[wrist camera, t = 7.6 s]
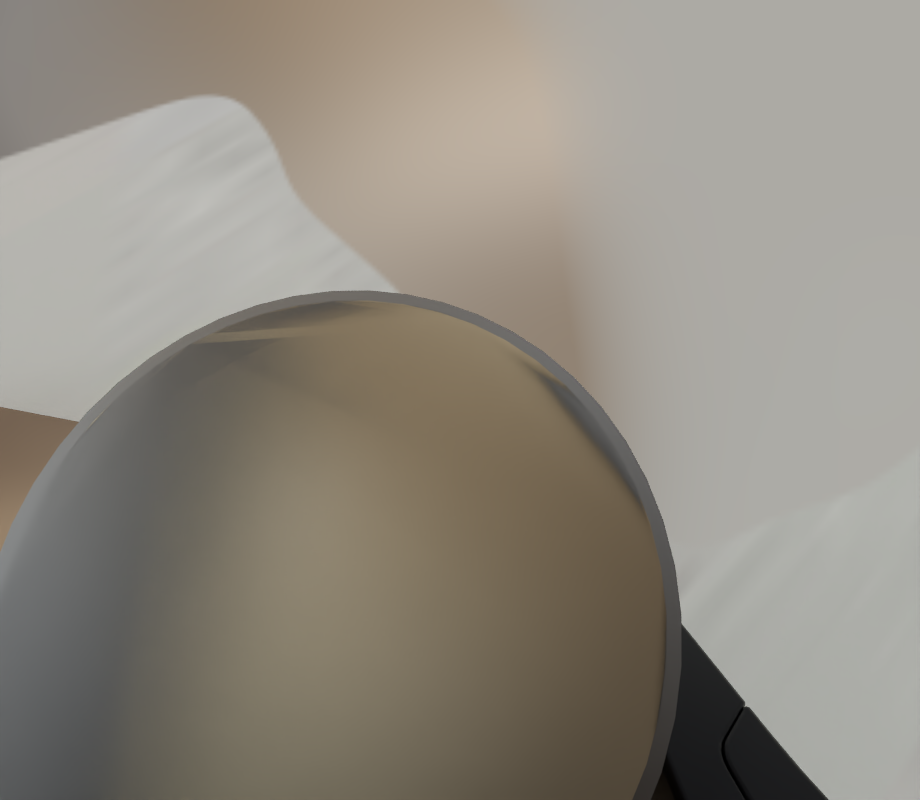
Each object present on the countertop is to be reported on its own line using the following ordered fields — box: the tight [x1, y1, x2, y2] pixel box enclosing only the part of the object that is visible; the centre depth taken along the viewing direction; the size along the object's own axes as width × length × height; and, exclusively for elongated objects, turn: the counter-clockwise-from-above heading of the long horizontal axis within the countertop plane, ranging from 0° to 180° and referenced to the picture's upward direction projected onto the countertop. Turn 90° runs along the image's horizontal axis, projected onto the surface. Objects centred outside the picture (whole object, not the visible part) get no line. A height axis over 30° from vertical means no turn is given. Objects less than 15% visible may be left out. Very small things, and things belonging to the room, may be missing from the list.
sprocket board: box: [0, 407, 79, 551], centre depth 15 cm, size 16×22×3 cm
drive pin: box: [0, 291, 681, 800], centre depth 9 cm, size 5×5×10 cm
